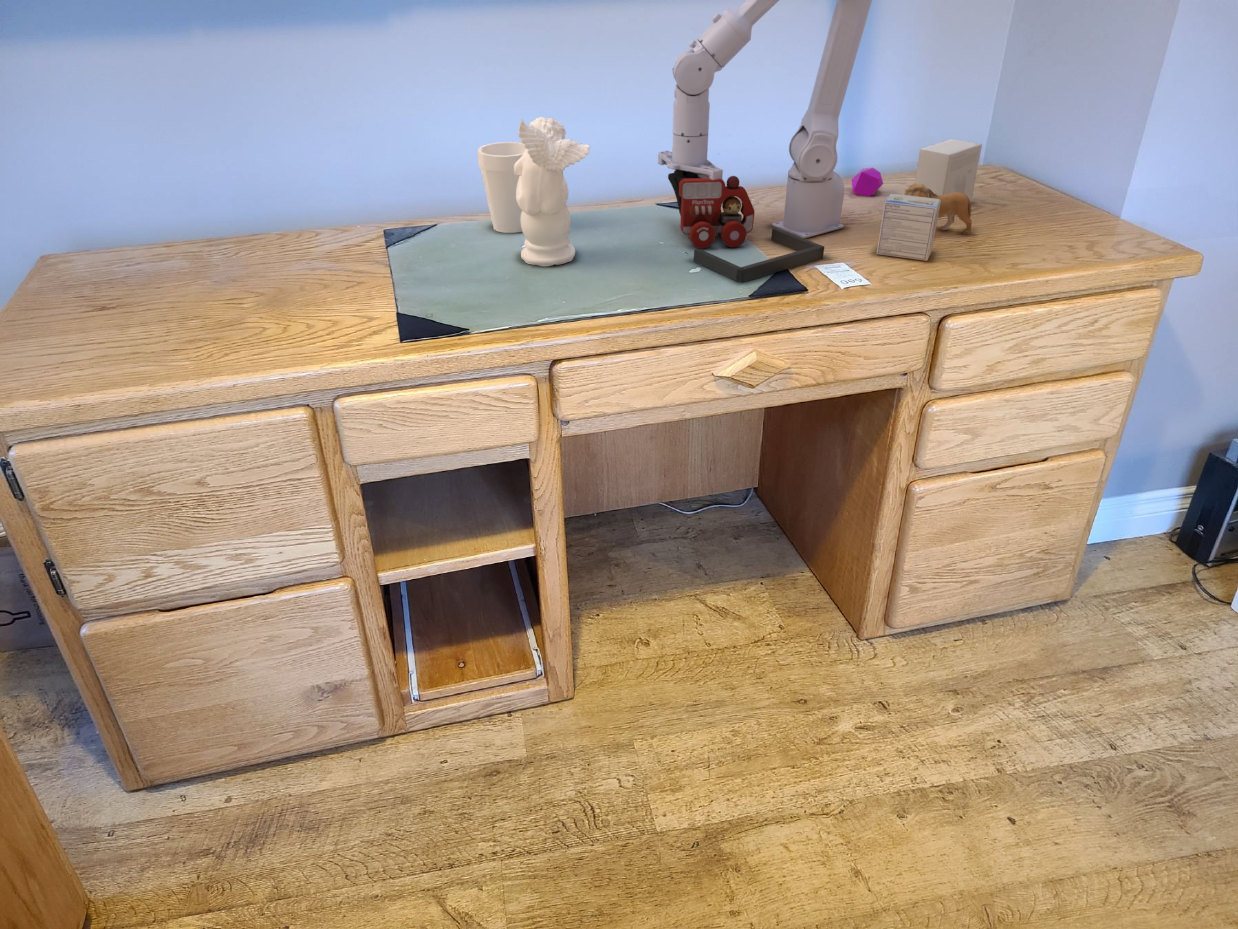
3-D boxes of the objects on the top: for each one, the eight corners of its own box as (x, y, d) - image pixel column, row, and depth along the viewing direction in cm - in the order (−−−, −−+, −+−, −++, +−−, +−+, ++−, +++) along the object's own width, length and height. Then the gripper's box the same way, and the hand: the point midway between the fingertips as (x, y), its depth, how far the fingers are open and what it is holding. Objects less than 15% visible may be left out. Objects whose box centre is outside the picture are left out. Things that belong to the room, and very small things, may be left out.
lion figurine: (909, 245, 145) (919, 189, 140) (888, 235, 149) (897, 180, 144) (980, 233, 150) (992, 178, 145) (958, 223, 154) (969, 170, 149)
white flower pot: (550, 223, 155) (546, 146, 147) (517, 239, 148) (511, 159, 141) (506, 214, 159) (501, 139, 152) (473, 229, 152) (465, 151, 145)
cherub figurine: (542, 241, 147) (534, 100, 135) (609, 253, 142) (607, 107, 130) (502, 266, 138) (490, 117, 126) (573, 279, 133) (567, 125, 121)
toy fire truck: (756, 247, 144) (762, 182, 139) (681, 250, 143) (683, 184, 138) (747, 232, 150) (752, 169, 145) (674, 235, 149) (676, 172, 144)
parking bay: (774, 239, 148) (775, 227, 146) (823, 258, 140) (824, 246, 139) (693, 261, 139) (693, 248, 138) (740, 283, 132) (741, 270, 131)
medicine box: (931, 253, 142) (942, 198, 137) (927, 262, 138) (937, 206, 134) (881, 246, 145) (890, 192, 140) (875, 255, 141) (884, 200, 136)
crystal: (883, 196, 167) (886, 171, 164) (854, 197, 166) (858, 172, 164) (874, 188, 171) (878, 163, 169) (846, 189, 171) (850, 164, 168)
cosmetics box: (940, 195, 167) (951, 137, 161) (971, 202, 163) (984, 143, 157) (908, 206, 161) (918, 147, 156) (940, 215, 157) (952, 154, 152)
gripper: (643, 127, 146) (642, 209, 154) (699, 145, 136) (695, 232, 144) (677, 121, 150) (675, 202, 157) (734, 138, 140) (729, 224, 147)
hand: (687, 216), depth 151 cm, fingers closed
